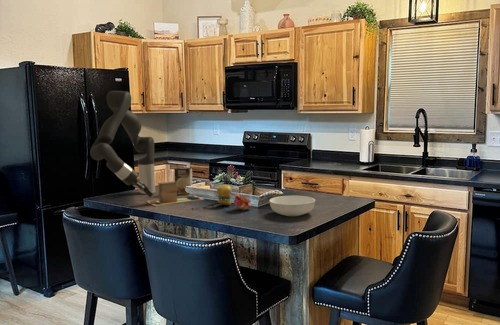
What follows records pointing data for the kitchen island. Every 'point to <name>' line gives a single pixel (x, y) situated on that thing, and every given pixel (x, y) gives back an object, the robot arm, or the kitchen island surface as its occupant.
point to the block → (167, 192)
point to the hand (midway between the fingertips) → (151, 195)
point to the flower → (241, 202)
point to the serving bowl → (292, 205)
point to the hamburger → (224, 194)
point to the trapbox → (179, 200)
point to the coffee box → (183, 178)
